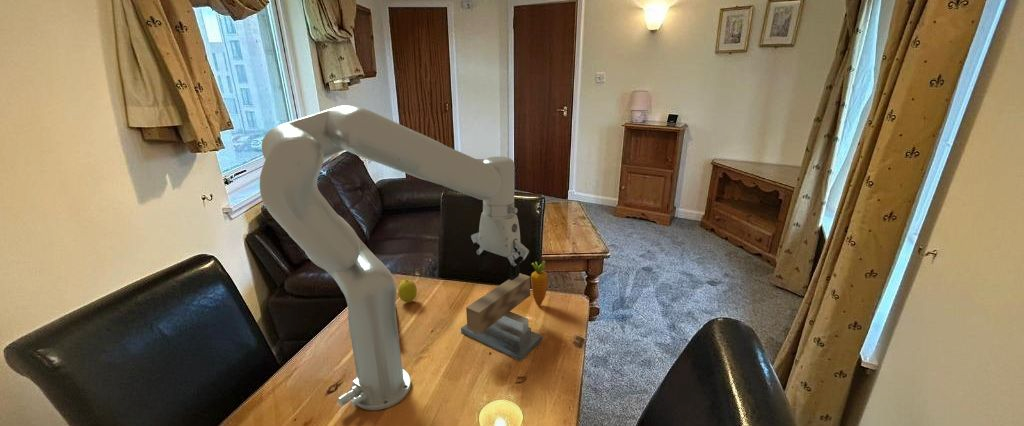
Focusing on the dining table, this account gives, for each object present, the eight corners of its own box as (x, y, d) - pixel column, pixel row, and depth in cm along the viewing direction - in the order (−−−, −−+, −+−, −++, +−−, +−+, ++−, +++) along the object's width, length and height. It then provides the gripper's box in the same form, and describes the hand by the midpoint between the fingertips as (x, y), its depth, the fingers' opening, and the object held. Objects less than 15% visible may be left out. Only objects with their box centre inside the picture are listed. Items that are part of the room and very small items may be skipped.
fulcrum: (520, 361, 100) (520, 333, 98) (461, 332, 111) (459, 307, 109) (542, 340, 108) (542, 314, 105) (484, 315, 119) (483, 291, 116)
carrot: (528, 308, 123) (529, 263, 118) (532, 300, 127) (533, 256, 122) (545, 311, 121) (546, 265, 116) (548, 302, 126) (549, 258, 121)
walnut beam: (518, 291, 116) (518, 272, 115) (530, 295, 114) (530, 276, 112) (467, 328, 100) (466, 307, 98) (479, 334, 97) (478, 312, 96)
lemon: (421, 301, 127) (419, 278, 124) (408, 309, 123) (406, 285, 120) (408, 296, 130) (406, 273, 127) (395, 304, 125) (393, 281, 123)
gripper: (537, 211, 96) (535, 276, 101) (481, 199, 105) (482, 259, 111) (519, 220, 90) (518, 288, 95) (461, 205, 100) (463, 268, 105)
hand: (498, 272), depth 103 cm, fingers open, 9 cm apart
